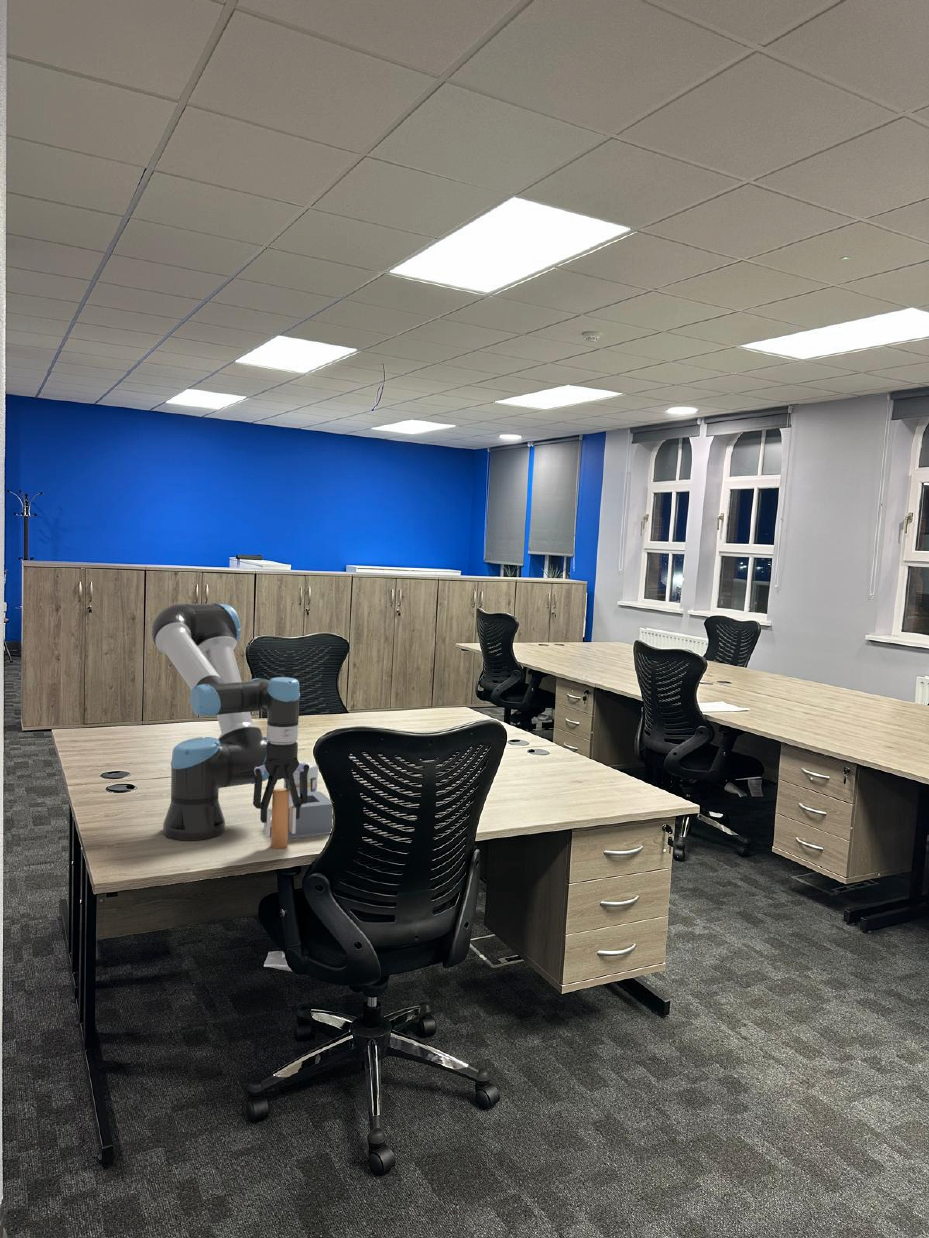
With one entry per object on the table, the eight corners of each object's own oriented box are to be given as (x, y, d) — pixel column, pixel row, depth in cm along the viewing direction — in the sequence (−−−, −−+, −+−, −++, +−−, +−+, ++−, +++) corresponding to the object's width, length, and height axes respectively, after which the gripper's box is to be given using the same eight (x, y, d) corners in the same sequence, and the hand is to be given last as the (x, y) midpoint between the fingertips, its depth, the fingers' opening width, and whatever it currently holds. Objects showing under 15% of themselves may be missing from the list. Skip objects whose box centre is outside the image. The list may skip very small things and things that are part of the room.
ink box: (281, 803, 251) (283, 763, 250) (292, 799, 255) (293, 759, 254) (307, 809, 247) (308, 768, 246) (317, 804, 252) (318, 764, 251)
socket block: (286, 839, 222) (287, 809, 221) (271, 822, 234) (271, 794, 234) (338, 832, 229) (339, 804, 228) (321, 816, 241) (322, 789, 240)
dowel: (273, 849, 214) (275, 793, 213) (269, 844, 218) (270, 789, 217) (289, 847, 216) (291, 792, 215) (284, 842, 220) (286, 787, 218)
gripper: (248, 747, 207) (245, 842, 209) (323, 742, 216) (320, 833, 218) (240, 740, 214) (238, 832, 216) (314, 735, 222) (311, 824, 224)
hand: (279, 833), depth 217 cm, fingers open, 6 cm apart
